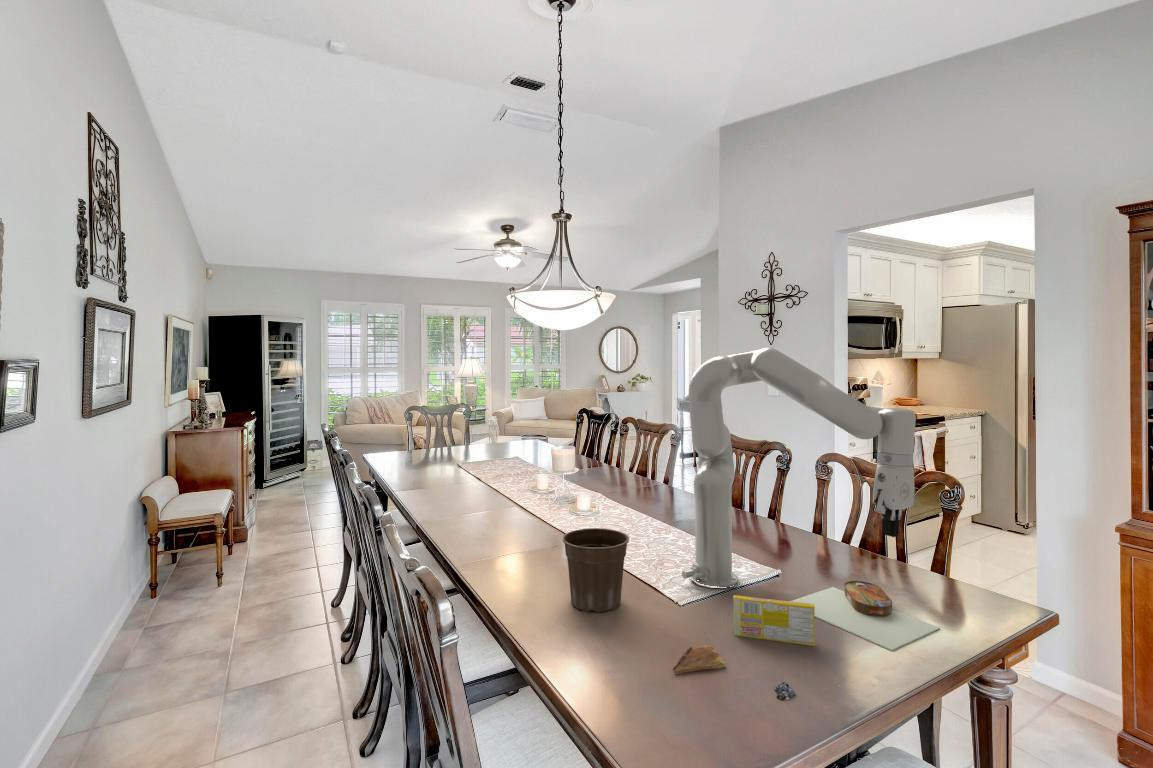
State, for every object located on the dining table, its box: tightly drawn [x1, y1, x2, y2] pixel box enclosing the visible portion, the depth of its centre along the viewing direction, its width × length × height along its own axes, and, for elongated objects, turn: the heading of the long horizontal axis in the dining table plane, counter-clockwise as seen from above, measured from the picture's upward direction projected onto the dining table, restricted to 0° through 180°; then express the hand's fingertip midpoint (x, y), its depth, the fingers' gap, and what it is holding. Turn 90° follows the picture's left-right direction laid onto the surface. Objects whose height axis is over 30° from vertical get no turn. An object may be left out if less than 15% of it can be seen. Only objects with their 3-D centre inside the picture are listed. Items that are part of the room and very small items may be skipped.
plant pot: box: [562, 527, 630, 613], centre depth 138 cm, size 16×16×16 cm
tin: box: [843, 580, 894, 616], centre depth 135 cm, size 15×3×8 cm
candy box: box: [732, 594, 816, 647], centre depth 119 cm, size 16×2×8 cm, turn 71°
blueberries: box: [764, 681, 796, 701], centre depth 100 cm, size 7×8×2 cm
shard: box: [672, 645, 726, 674], centre depth 110 cm, size 11×8×2 cm
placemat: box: [790, 586, 941, 652], centre depth 129 cm, size 18×26×1 cm
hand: (890, 535), depth 136 cm, fingers closed
